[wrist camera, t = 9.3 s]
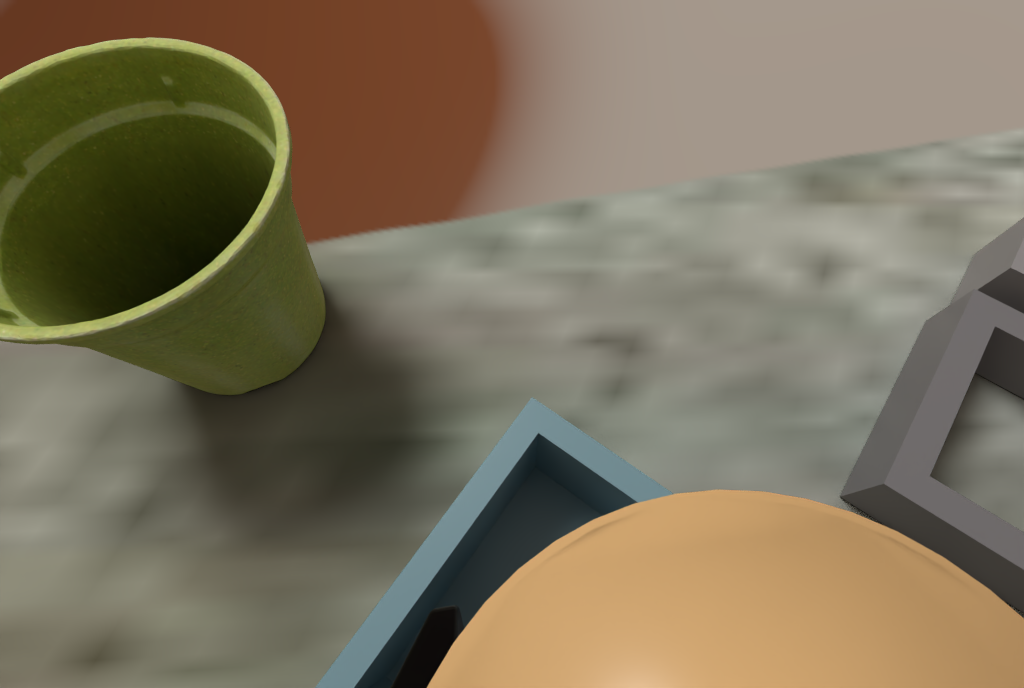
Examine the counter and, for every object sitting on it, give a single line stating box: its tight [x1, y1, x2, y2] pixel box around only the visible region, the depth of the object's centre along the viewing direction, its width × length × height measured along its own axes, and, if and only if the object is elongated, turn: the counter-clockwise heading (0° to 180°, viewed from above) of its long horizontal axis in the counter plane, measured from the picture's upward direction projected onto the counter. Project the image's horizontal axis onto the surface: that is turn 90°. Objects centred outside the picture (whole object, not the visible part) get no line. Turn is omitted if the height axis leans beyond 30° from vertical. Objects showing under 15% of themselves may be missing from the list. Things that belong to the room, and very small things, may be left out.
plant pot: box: [0, 38, 326, 395], centre depth 18 cm, size 9×9×9 cm
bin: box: [315, 397, 673, 688], centre depth 15 cm, size 9×9×5 cm
